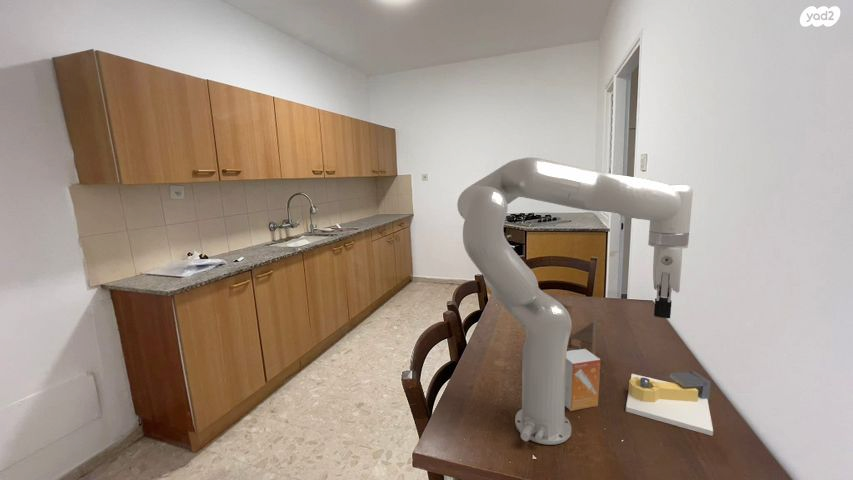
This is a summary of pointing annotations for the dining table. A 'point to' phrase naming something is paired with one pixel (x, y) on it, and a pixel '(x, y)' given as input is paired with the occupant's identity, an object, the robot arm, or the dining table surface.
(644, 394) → the link
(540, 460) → the dining table surface
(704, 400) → the board
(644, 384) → the pin
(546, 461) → the dining table surface
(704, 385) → the block
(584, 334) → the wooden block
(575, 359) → the small box
